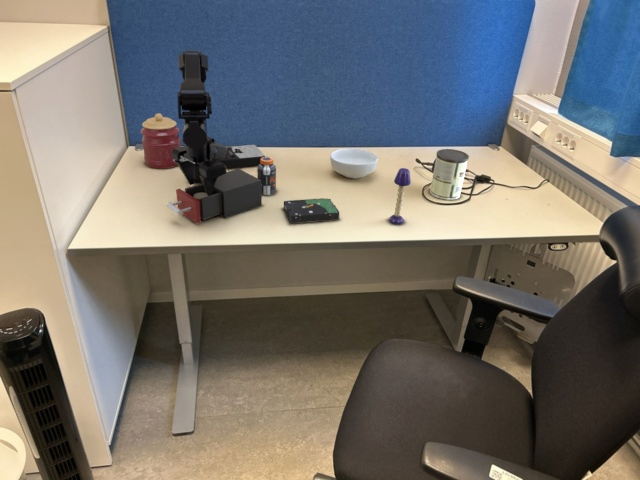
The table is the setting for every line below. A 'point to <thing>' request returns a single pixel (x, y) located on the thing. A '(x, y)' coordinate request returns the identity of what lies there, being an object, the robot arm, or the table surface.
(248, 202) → the drawer cabinet
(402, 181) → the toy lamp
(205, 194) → the brown short cylinder
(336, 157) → the cereal bowl
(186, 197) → the pod drawer
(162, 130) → the kitchen canister
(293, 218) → the disk drive
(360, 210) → the table surface
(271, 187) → the pill bottle
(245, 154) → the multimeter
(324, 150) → the table surface
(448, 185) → the coffee can
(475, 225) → the table surface
